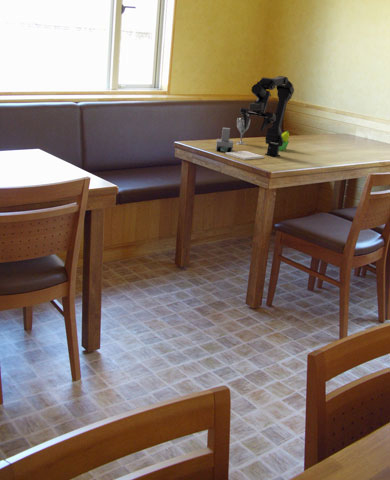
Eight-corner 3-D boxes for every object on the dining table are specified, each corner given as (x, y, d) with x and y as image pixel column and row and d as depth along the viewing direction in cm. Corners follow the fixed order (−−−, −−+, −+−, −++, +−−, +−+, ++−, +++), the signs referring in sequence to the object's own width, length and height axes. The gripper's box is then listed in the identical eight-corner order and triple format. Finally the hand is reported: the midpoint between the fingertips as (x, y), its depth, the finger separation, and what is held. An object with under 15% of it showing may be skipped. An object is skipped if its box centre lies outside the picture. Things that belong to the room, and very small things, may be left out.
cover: (231, 149, 348) (234, 127, 344) (232, 152, 339) (234, 130, 335) (215, 148, 348) (218, 126, 344) (216, 151, 339) (218, 128, 335)
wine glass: (235, 141, 375) (238, 117, 370) (248, 143, 374) (251, 118, 369) (233, 143, 368) (236, 118, 363) (246, 145, 367) (249, 120, 362)
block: (227, 150, 346) (228, 143, 344) (227, 151, 342) (228, 144, 340) (220, 149, 345) (221, 142, 344) (220, 151, 342) (221, 144, 340)
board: (245, 152, 344) (245, 150, 344) (263, 157, 335) (264, 156, 335) (225, 154, 334) (225, 152, 333) (244, 159, 324) (244, 158, 324)
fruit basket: (276, 147, 372) (279, 128, 368) (290, 149, 368) (293, 131, 364) (269, 149, 362) (272, 130, 358) (283, 152, 358) (286, 132, 354)
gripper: (240, 93, 312) (230, 122, 312) (273, 98, 303) (263, 128, 303) (248, 100, 322) (239, 129, 322) (280, 106, 313) (271, 135, 313)
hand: (252, 130), depth 315 cm, fingers open, 9 cm apart
